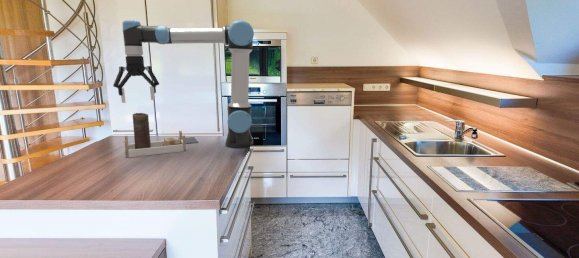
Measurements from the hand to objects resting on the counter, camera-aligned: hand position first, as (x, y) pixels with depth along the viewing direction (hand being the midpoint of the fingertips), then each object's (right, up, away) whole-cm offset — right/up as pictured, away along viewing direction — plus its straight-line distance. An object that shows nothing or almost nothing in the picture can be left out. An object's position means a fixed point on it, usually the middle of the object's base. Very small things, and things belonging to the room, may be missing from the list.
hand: (138, 101), depth 157 cm
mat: (+11, -20, +34) cm, 41 cm away
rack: (+3, -25, +14) cm, 28 cm away
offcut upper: (+10, -21, +17) cm, 29 cm away
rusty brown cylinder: (-3, -25, +11) cm, 28 cm away
